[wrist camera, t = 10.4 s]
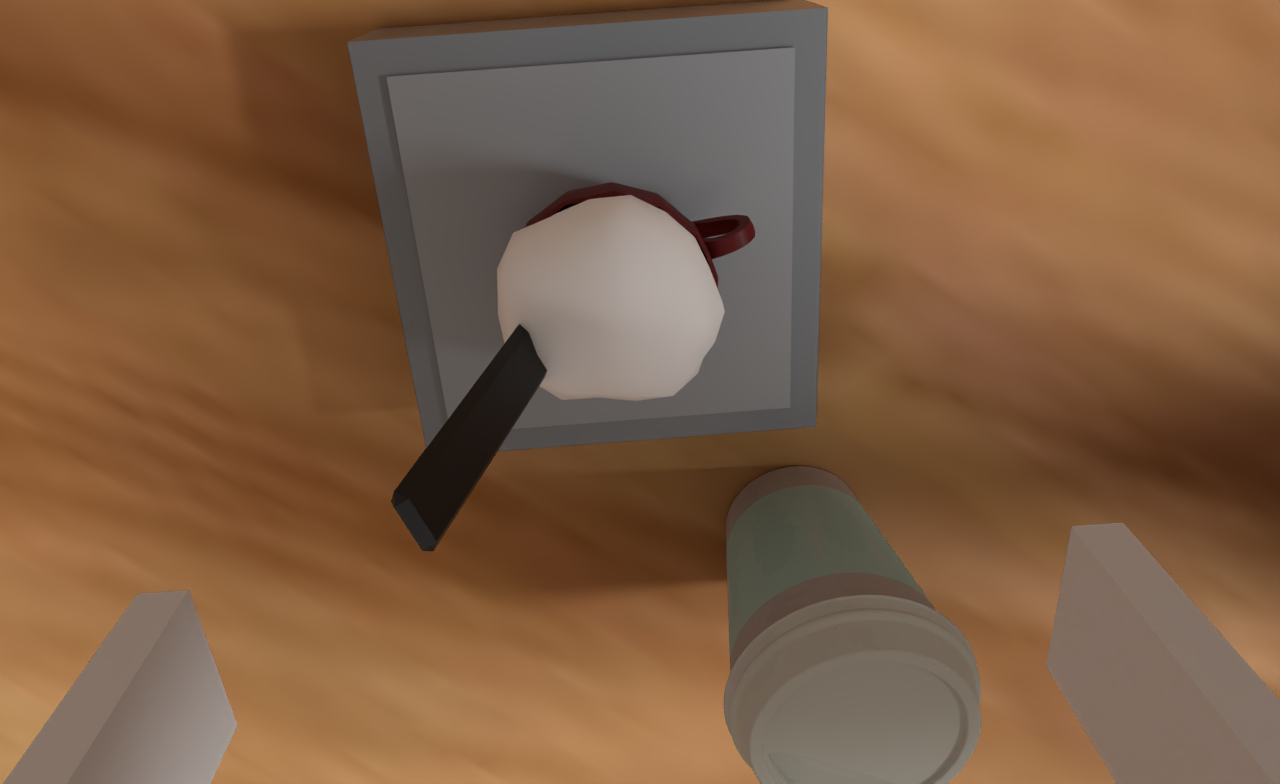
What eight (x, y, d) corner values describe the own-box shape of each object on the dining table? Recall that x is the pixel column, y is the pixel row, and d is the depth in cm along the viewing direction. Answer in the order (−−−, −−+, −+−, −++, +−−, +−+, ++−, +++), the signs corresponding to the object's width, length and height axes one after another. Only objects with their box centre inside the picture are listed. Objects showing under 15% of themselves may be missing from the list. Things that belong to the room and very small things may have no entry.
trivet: (800, -2, 30) (829, 8, 26) (794, 378, 37) (817, 429, 33) (376, 28, 30) (345, 43, 26) (444, 405, 36) (426, 460, 33)
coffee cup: (655, 504, 39) (679, 721, 28) (830, 400, 37) (926, 591, 26) (758, 629, 42) (814, 865, 32) (923, 539, 41) (1041, 758, 30)
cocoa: (737, 160, 29) (852, 274, 18) (732, 346, 31) (829, 544, 20) (431, 170, 28) (356, 294, 17) (451, 359, 31) (397, 571, 20)
